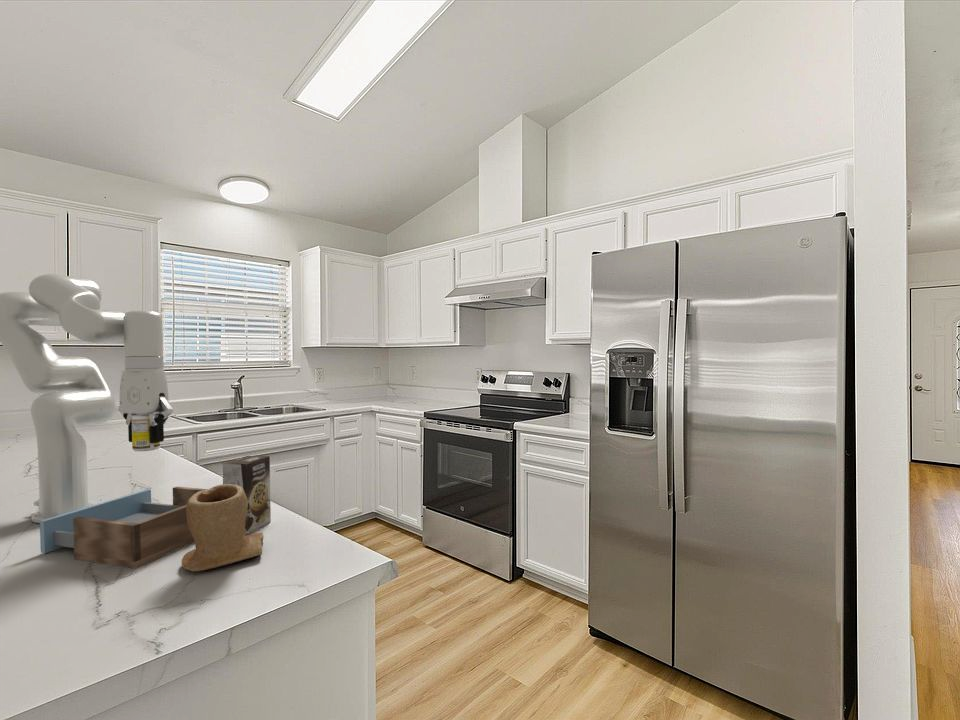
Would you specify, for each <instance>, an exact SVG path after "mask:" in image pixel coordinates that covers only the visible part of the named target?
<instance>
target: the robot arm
mask: <svg viewBox="0 0 960 720" xmlns="http://www.w3.org/2000/svg"><path fill="white" fill-rule="evenodd" d="M101 300H102V291H101V289H100V287H99V285H98V284H97V283H96V282H95V281H93V280H91V279H88V278H86V277H77V276H70V275H63V274H52V273H51V274H50V273H48V274H47V273H46V274H41V275H39V276H36V277H34V278H33V279H32V280H31V281H30V283H29V286H28V292H23V291H5V292H0V344H1V346H2V347H3V348H4V349H5V350H6V352H7V353H8V354H9V356H10V359H11V361H12V363H13V365H14V367H15V369H16V371H17V373H18V375H19V376H20V379H21V381H22V382H23V384H24V386H25V388H27V390H28V391H30V392H32V393H34V394H41V395H39V396H37V397H36V398H35V399H34V400H33V401H32V404H31V405H30V406H31V407H30V415H31V420H32V423H33V426H34V430H35V435H36V446H37V459H38V460H37V461H38V462H37V463H38V466H37V467H38V490H39V491H38V492H39V493H38V496H39V498H38V499H37V500H35V501H33V506H34V507H38V511H37V512H35V513H33V514H32V515H31V517H30V518H31V522H33V523H35V524H40V521H41V520H44V519H48V518H51V517H55V516H58V515H61V514H65V513H68V512H71V511H75V510H78V509H82V508H85V507H88V506H92V505H95V504H94V503H89V489H88V488H89V487H88V486H89V485H88V484H89V483H88V453H87V452H88V451H87V442H86V440H85V438H84V437H83V436H82V435H81V434H80V432H78V430H77V429H76V428H79V427H87V426H91V425H92V426H94V425H99V424H104V423H106V422H108V421H111V420H112V419H113V418H114V417H115V415H116V411H117V403H116V400H115V397H114V395H113V392H112V391H111V388H110V387H109V386H108V383H107V381H106V380H105V378H104V376H103V374H102V372H101V370H100V369H99V367H98V366H97V364H96V363H95V362H94V361H93V360H92V359H90V358H88V357H84V356H78V355H77V356H75V355H74V356H70V355H69V356H65V355H63V356H62V355H59V354H57V353H56V351H55V350H54V348H53V346H52V344H51V342H50V341H49V340H48V339H47V338H46V336H44V335H42V334H41V333H40V332H39V331H37V330H35V329H33V328H32V327H31V326H38V327H40V326H41V327H42V326H44V327H45V326H46V327H47V326H48V327H62V329H63V330H64V331H65V332H66V333H68V334H70V335H71V336H73V337H75V338H77V339H79V340H80V341H83V342H87V343H93V344H95V343H96V344H97V343H98V344H108V343H109V344H123V351H124V352H123V354H124V370H123V371H122V373H121V378H120V385H119V404H118V405H119V406H118V411H119V412H120V413H121V415H122V417H123V418H124V420H125V425H127V426H128V427H127V429H128V430H127V431H128V434H127V435H128V442H129V443H132V421H131V418H132V416H133V415H136V414H149V418H150V421H151V424H152V426H149V438H150V443H157V442H161V443H162V442H164V440H165V435H164V434H165V432H164V431H165V430H164V428H165V427H164V425H166V423H167V420H168V419H169V416H170V415H171V414H172V413H173V412H174V409H173V407H172V405H170V403H169V390H168V381H167V375H166V371H165V369H164V340H163V339H164V337H163V334H164V331H163V329H164V328H163V317H162V314H160V312H156V311H153V310H152V311H151V310H129V311H120V310H105V309H101ZM153 411H156V412H153ZM155 415H158V417H157V418H156V417H155Z"/></svg>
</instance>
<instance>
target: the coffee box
mask: <svg viewBox="0 0 960 720" xmlns="http://www.w3.org/2000/svg"><path fill="white" fill-rule="evenodd" d="M270 458H271V457H270V455H245V456H243V457H239V458H236V459H233V460H230V461H229V460H228V461H226V462H223V463H222V485H224V484H234V485H238V486H240V487H242V488H243V489H244V492H245V494H246V497H247V501H248V509H247V515H246V521H245V527H244V536H247V535H250V534H251V533H253V532H255V531H257V530H258V529H260V528H262V527H264V526H265V525H267V524H269V523H271V521H272V519H271V518H272V517H271V516H272V515H271V513H272V512H271V470H270V469H271V464H270V462H271V460H270Z"/></svg>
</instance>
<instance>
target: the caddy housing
mask: <svg viewBox="0 0 960 720" xmlns="http://www.w3.org/2000/svg"><path fill="white" fill-rule="evenodd" d="M208 489H209V488H197V487H189V486H188V487H187V486H174V487H172V505H180V506H182V507H179V508H176V509H173V510H171V511H168V512H165V513H162V514H159V515H157V516H154V517H151V518H148V519H145V520H143V521H140V522H137V523H130V522H121V521H113V520H104V519H96V518H87V517H77V518H73V529H74V548H73V552H74V553H73V556H74V558H73V560H78V561H82V562H91V563H98V564H103V565H104V564H105V565H110V566H111V565H112V566H117V567H124V568H131V569H137V568H139V567H141V566H144V565H146V564H148V563H151V562H153V561H155V560H157V559H159V558H162V557H163V556H167V555H168V554H171V553H173V552H175V551H178V550H179V549H182V548H184V547H186V546H188V545H191V544H193V543H195V541H194V538H193V536H192V534H191V532H190V530H189V527H188V524H187V515H186V505H187V502H188V500H189V499H190V498H191V497H192V496H193V495H194V494H195V493H197V492H199V491H202V490H208Z"/></svg>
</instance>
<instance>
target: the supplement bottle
mask: <svg viewBox="0 0 960 720" xmlns="http://www.w3.org/2000/svg"><path fill="white" fill-rule="evenodd" d="M153 412H156V411H153ZM155 417H156V418H157V417H158V415H155ZM131 421H132V442H131V444H132V447H131V448H132V450H133V451H134V452H149V451H155V450H159V449H160V448H162V446H161V443H162V442H157V443H150V438H149V426H152V424H151V421H150V418H149V414H136V415H133V416H132V418H131Z"/></svg>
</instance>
